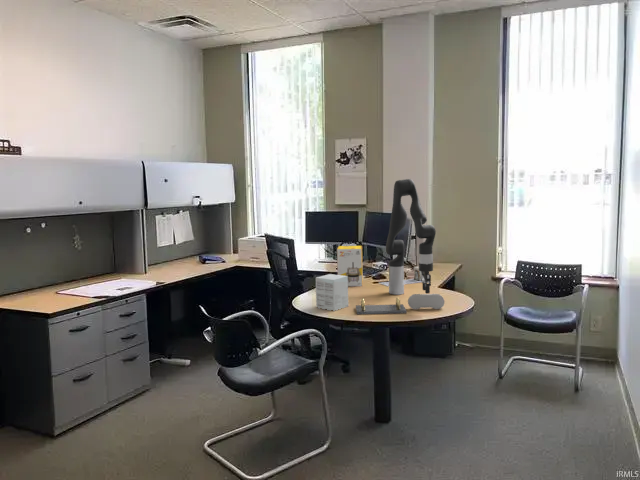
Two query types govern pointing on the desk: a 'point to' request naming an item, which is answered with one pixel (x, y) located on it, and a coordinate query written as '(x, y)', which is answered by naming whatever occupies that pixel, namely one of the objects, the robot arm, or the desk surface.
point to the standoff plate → (380, 308)
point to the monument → (410, 281)
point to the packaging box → (350, 264)
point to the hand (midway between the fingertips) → (426, 291)
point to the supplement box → (332, 292)
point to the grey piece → (426, 301)
